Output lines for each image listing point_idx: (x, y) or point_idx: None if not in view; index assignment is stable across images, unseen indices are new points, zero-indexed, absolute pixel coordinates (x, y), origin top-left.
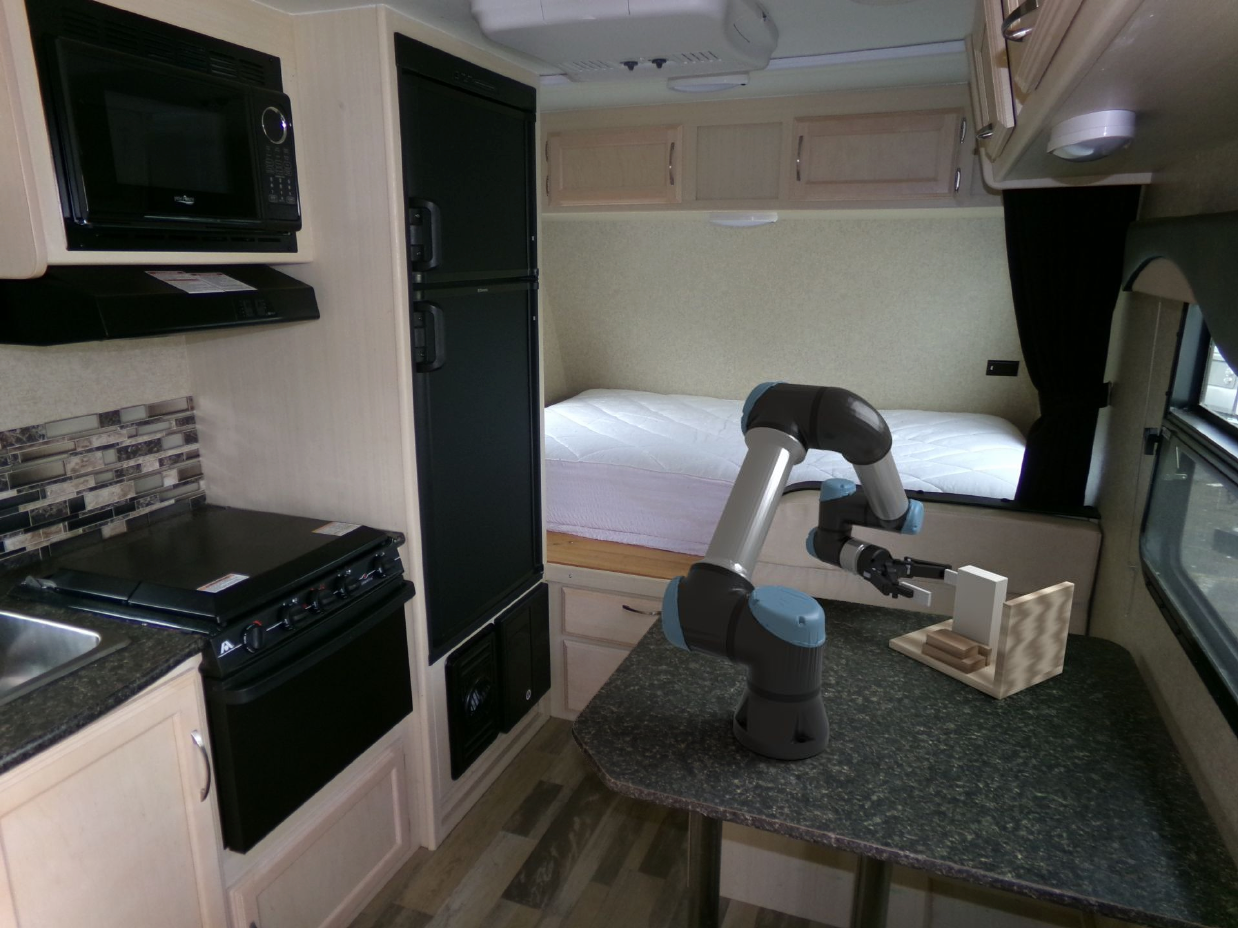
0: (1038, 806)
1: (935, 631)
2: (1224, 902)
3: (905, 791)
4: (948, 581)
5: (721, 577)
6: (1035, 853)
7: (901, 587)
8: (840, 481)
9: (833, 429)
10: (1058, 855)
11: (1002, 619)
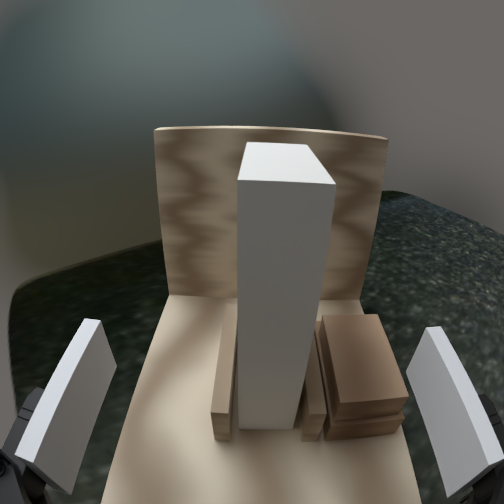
0: (437, 232)
1: (374, 396)
2: (388, 191)
3: None
4: (72, 466)
5: None
6: (461, 223)
7: (502, 442)
8: None
9: None
10: (449, 219)
11: (383, 173)
